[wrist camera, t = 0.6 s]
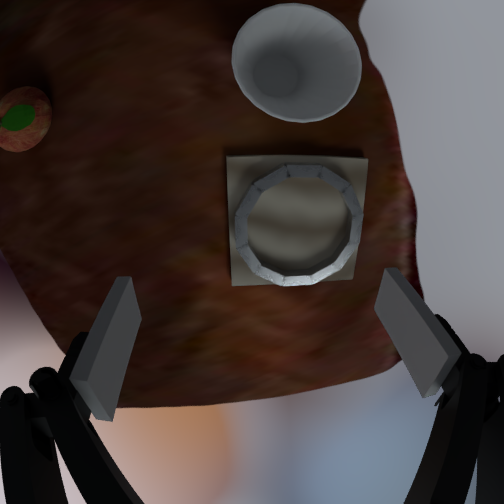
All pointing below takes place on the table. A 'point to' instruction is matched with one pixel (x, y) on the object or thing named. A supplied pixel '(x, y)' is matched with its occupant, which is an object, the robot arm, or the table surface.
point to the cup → (296, 62)
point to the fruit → (24, 118)
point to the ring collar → (321, 268)
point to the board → (293, 214)
